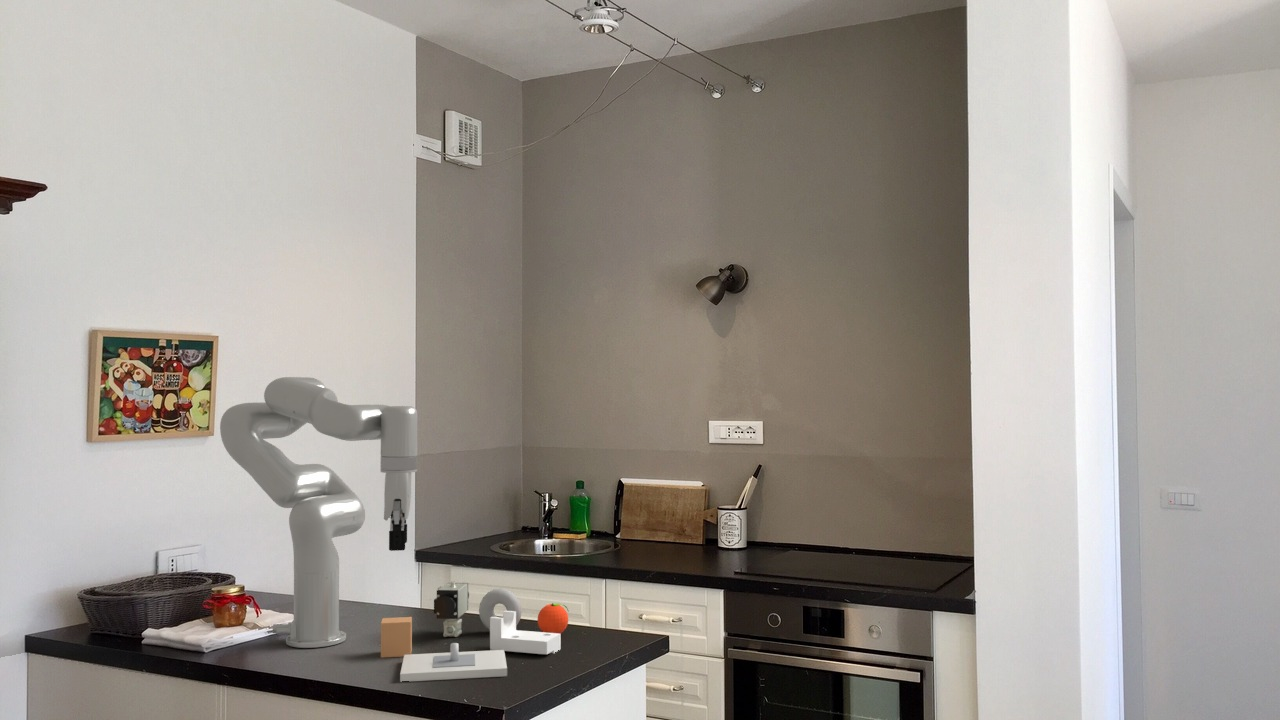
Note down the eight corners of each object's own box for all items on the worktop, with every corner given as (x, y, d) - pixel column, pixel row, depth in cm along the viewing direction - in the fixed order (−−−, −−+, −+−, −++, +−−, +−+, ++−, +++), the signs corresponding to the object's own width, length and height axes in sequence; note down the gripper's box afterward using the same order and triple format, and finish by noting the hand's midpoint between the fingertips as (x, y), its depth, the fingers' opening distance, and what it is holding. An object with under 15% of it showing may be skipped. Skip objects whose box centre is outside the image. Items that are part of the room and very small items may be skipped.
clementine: (559, 629, 230) (559, 598, 230) (578, 634, 225) (578, 602, 225) (531, 635, 224) (531, 603, 224) (550, 640, 219) (550, 608, 219)
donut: (523, 632, 227) (523, 587, 227) (518, 635, 223) (518, 590, 224) (482, 630, 229) (482, 586, 229) (476, 633, 225) (476, 589, 226)
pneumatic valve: (469, 629, 230) (469, 576, 230) (455, 642, 218) (455, 586, 218) (446, 628, 230) (446, 576, 231) (430, 641, 219) (430, 586, 219)
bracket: (490, 654, 209) (489, 617, 209) (505, 645, 216) (505, 610, 216) (546, 659, 205) (546, 622, 205) (560, 650, 212) (560, 614, 212)
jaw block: (380, 657, 206) (380, 623, 206) (382, 651, 210) (382, 618, 211) (410, 656, 207) (410, 622, 207) (411, 650, 211) (411, 616, 212)
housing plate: (400, 681, 188) (400, 655, 188) (404, 662, 202) (404, 637, 202) (507, 676, 192) (507, 650, 192) (504, 657, 205) (504, 633, 206)
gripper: (383, 462, 218) (382, 540, 217) (377, 468, 201) (376, 553, 200) (418, 461, 219) (417, 540, 219) (415, 467, 202) (415, 552, 202)
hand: (398, 546), depth 210 cm, fingers open, 9 cm apart
